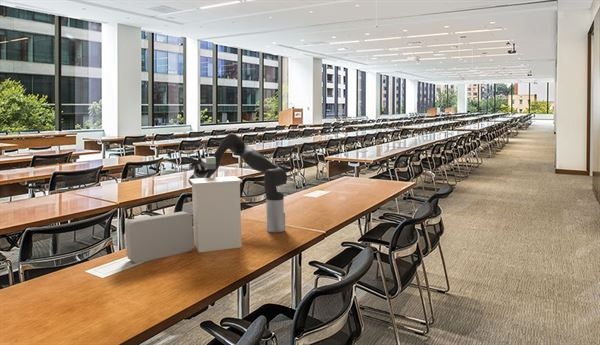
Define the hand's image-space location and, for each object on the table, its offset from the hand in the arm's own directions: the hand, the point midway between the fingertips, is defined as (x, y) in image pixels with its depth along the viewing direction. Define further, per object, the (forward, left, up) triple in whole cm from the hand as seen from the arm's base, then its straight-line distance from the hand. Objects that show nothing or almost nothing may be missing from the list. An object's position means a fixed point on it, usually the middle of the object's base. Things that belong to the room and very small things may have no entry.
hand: (204, 159), depth 235 cm
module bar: (0, +7, -3) cm, 8 cm away
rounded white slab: (+26, +32, -39) cm, 57 cm away
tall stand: (0, +28, -39) cm, 48 cm away
